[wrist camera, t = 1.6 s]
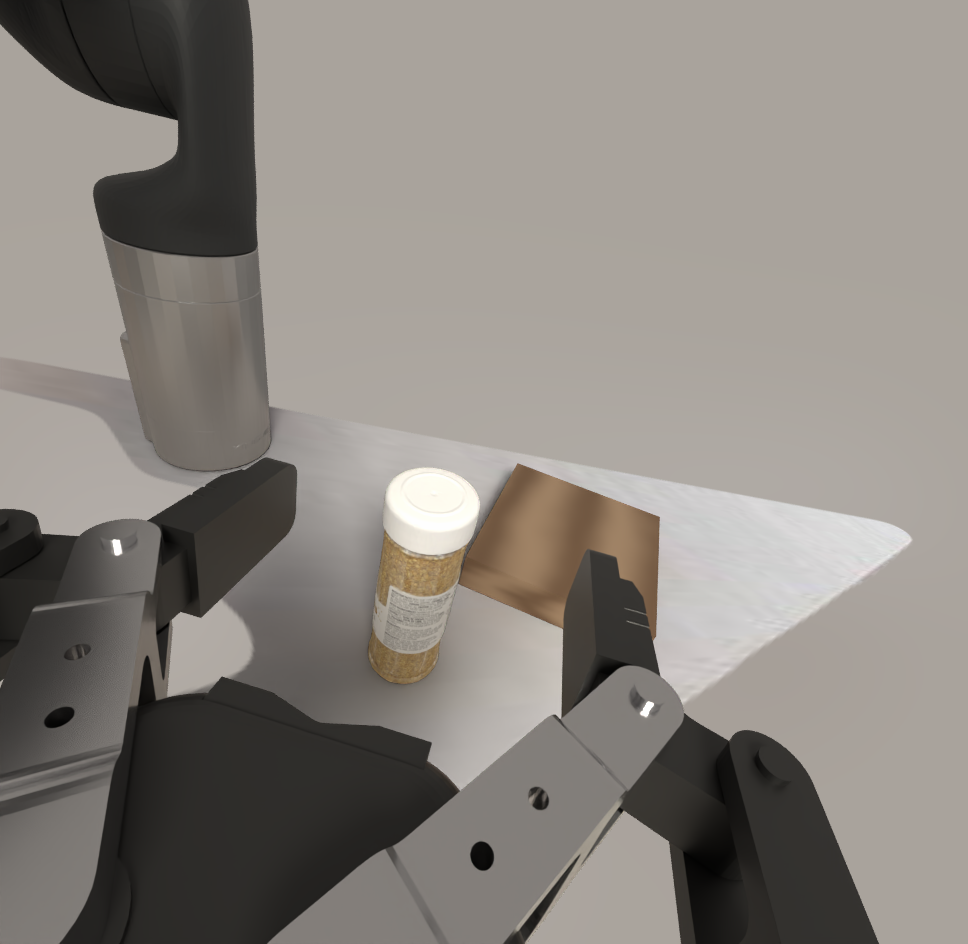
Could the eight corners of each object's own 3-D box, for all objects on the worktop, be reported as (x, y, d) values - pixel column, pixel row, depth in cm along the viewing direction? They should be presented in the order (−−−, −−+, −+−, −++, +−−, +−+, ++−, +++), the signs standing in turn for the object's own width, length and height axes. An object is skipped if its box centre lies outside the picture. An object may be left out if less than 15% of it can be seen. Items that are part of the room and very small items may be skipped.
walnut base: (458, 583, 35) (465, 556, 33) (510, 487, 46) (517, 463, 44) (638, 661, 33) (656, 636, 31) (646, 540, 44) (659, 517, 42)
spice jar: (380, 615, 31) (401, 454, 23) (445, 632, 31) (488, 477, 23) (355, 677, 27) (371, 510, 20) (429, 696, 27) (474, 537, 20)
